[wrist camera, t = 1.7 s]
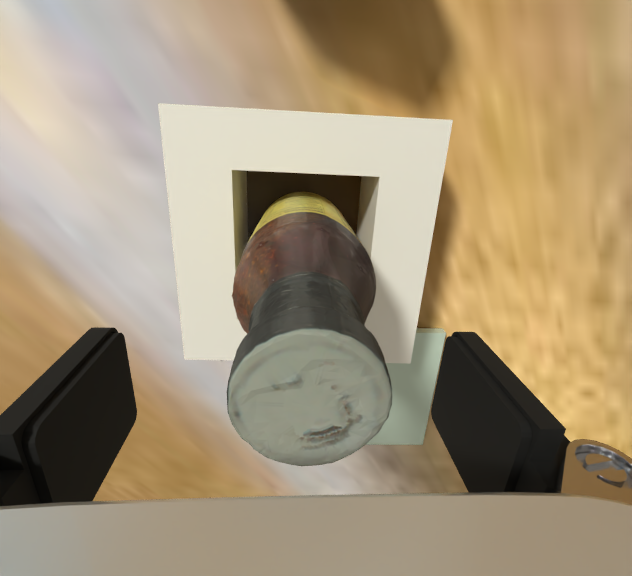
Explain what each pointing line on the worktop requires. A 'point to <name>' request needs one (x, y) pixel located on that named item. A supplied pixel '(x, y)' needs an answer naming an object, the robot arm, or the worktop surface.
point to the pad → (412, 391)
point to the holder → (298, 157)
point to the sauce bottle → (306, 337)
